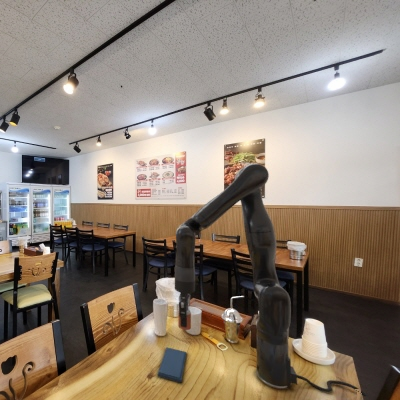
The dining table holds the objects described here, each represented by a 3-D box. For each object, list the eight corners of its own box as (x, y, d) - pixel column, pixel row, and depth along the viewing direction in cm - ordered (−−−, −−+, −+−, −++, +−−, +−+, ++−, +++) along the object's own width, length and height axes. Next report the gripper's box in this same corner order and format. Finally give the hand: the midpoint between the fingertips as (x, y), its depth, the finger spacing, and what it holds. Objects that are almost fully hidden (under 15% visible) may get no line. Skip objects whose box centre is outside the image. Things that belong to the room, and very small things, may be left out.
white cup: (203, 329, 110) (203, 309, 110) (199, 337, 103) (199, 315, 104) (187, 325, 114) (187, 305, 114) (182, 332, 108) (182, 311, 108)
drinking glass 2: (166, 330, 110) (166, 298, 110) (168, 338, 103) (168, 304, 103) (152, 329, 110) (152, 298, 111) (153, 337, 104) (153, 304, 104)
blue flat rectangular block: (186, 354, 92) (186, 351, 92) (181, 383, 77) (181, 379, 77) (166, 349, 95) (166, 346, 95) (157, 376, 80) (157, 372, 80)
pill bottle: (191, 325, 87) (191, 309, 87) (190, 331, 83) (190, 314, 83) (179, 322, 89) (179, 307, 89) (177, 328, 85) (177, 312, 85)
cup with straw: (224, 332, 107) (224, 290, 108) (245, 339, 102) (245, 294, 102) (219, 341, 101) (218, 295, 101) (242, 349, 95) (241, 301, 96)
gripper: (193, 285, 78) (193, 335, 78) (196, 274, 92) (196, 316, 91) (171, 282, 81) (171, 330, 81) (177, 271, 94) (177, 313, 94)
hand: (184, 323), depth 86 cm, fingers closed on pill bottle, 4 cm apart
